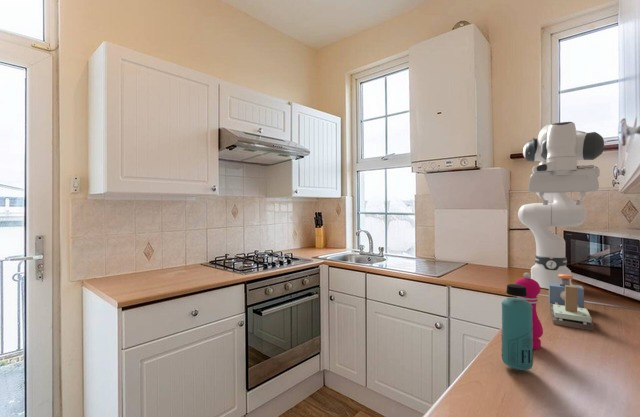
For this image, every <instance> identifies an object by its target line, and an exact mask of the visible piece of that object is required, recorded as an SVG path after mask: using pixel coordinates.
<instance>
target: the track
mask: <svg viewBox="0 0 640 417" xmlns="http://www.w3.org/2000/svg"><path fill="white" fill-rule="evenodd" d="M553 304H554V303H550V307H549V311H550V316H551V319H552V320H551V321H552V324H553V325H557V326H563V327H570V328H576V329H581V330H587V331H594V330H595V328H594V327H595V326H594V324H593V322H592V321H591V323H590V322H583V321H577V320H570V319H563V318H557V317H555V315H554V311H553ZM555 305H561V304H558V302H555ZM562 306H565V305H562ZM577 308H585V306H584V307H579V306H578V305H577Z"/></svg>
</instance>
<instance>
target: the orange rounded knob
mask: <svg viewBox="0 0 640 417" xmlns="http://www.w3.org/2000/svg"><path fill="white" fill-rule="evenodd" d="M558 277H559V278H562V286H563V287H565V285H570V279H571V280H574V275H572V274H571V275H569V274H558Z"/></svg>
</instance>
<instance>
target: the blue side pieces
mask: <svg viewBox="0 0 640 417" xmlns="http://www.w3.org/2000/svg"><path fill="white" fill-rule="evenodd" d="M570 286H577V305H578V306H579V307H584V308H585V289H584V287H583V285H577V284H573V285H570ZM555 302H558V304H561V305H565V287H563V286H562V284H560V283H550V282H549V289H548V305H549V306H550V303H554V304H555Z"/></svg>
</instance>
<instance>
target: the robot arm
mask: <svg viewBox="0 0 640 417" xmlns="http://www.w3.org/2000/svg"><path fill="white" fill-rule="evenodd" d="M604 150H605V141H604V137H603V136H602V135H601V134H600V133H598V132H596V131H591V132H585V131H580V130H577V128H576V124H575V122H573V121H563V122H561V121H560V122H554V123H550V124H547V125H545V126H543V127H542V128H541V130H539V133H538V135H537V138H535V137H532V139H531V140H528V141H527V142H526V143H525V144H524V146H523V150H522V155H523V157H524V160H526V161H527V162H539V163H538V164H537V165H534V166H533V167H532V169H531V172H532V174H531V175H530V177H529V178H528V179H529V180H528V185H527V191H528V192H529V193H530V194H536V196H538V198H540V199H541V200H542V202H534V203H527V204H522V205H521V206H520V208H519V209H518V211H517V216H518V217H517V218H518V220H519V222H520V223H521V224H523V225H524V226H525V227H527V228H528V229H529V230H530V231H531V232H532V234H533V236H534V239H535V240H534V241H535V248H536V250H535V253H536V254H535V255H534V263H535V264H533V266H531V268H530V275H531V278H530V279H533V280H535V281H536V282H538V284H539V285H540V289H541V288H542V289H547V290H549V282H550V283H560V284H562V278H559V277H558V274H569V275H572V270H570V268H569V267H567V263H568V260H567V258H568V257H566V240H565V238H563V237H562V236H560V235H558V234H556V233H553V232H551V231H550V230H549V228H550V227H556V228H557V227H561V228H563V227H564V228H565V227H566V228H568V227H577V226H582V224H584V223H585V221H586V219H587V217H588V215H587V210H586V209H585V207H584V206H582V200H583V199H584V198H585V196H586V193H591V192H592V193H595V192H597V191H598V190H599V189H600V184H599V183H600V182H599V176H600V175H601V174H600V171H601V170H600V168H599V167H598V166H595V165H594V164H589V165H578V161H594V160H595V159H597V158H599V157H600V156H601V155H602V154H603V152H604ZM567 193H579V196H580V197H579V198H578V199H575V201H574V200H573V199H571V198H570V196H568V194H567ZM570 285H574V284H573V283H572V279H570Z"/></svg>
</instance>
